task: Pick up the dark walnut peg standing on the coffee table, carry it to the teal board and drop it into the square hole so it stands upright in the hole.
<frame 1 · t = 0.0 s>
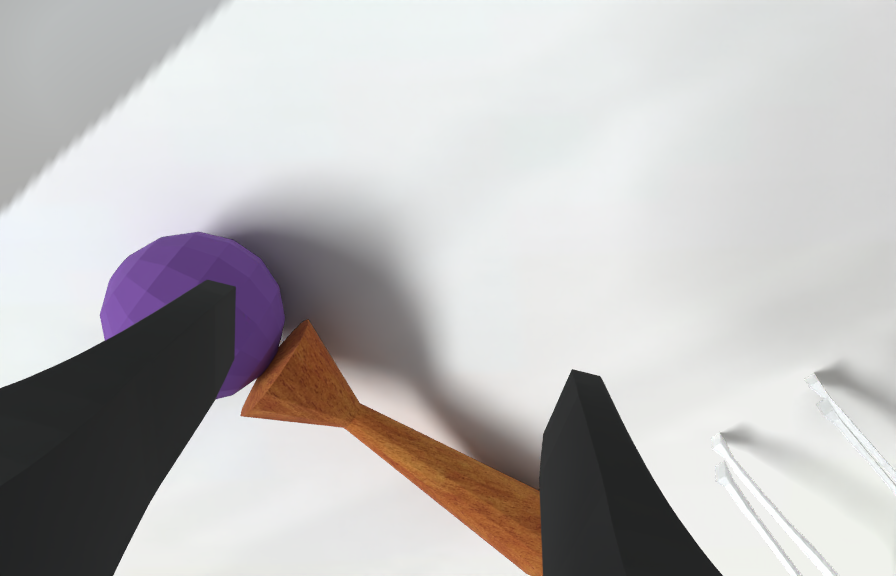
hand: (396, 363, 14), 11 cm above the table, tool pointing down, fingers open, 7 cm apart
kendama: (371, 381, 27), on the table
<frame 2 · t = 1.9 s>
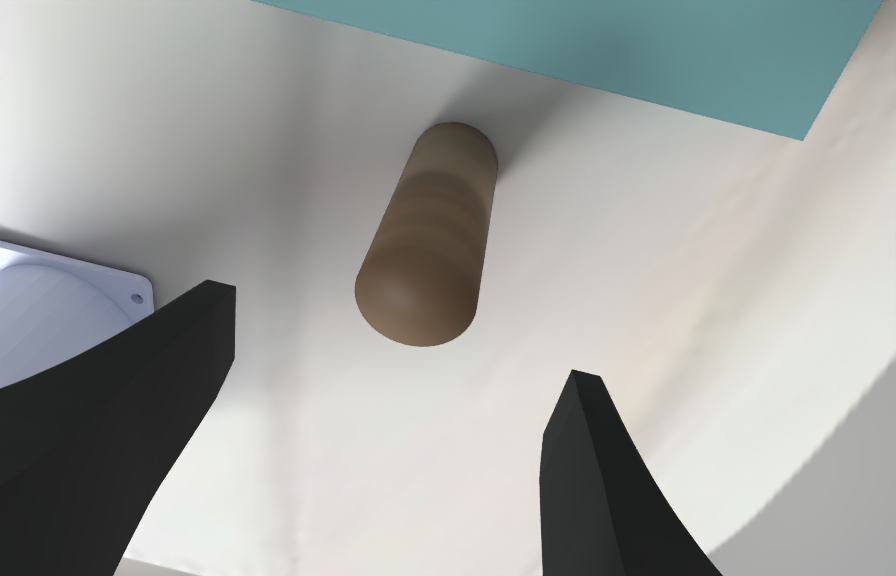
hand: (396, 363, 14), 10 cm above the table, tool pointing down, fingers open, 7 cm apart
peg: (454, 164, 22), on the table
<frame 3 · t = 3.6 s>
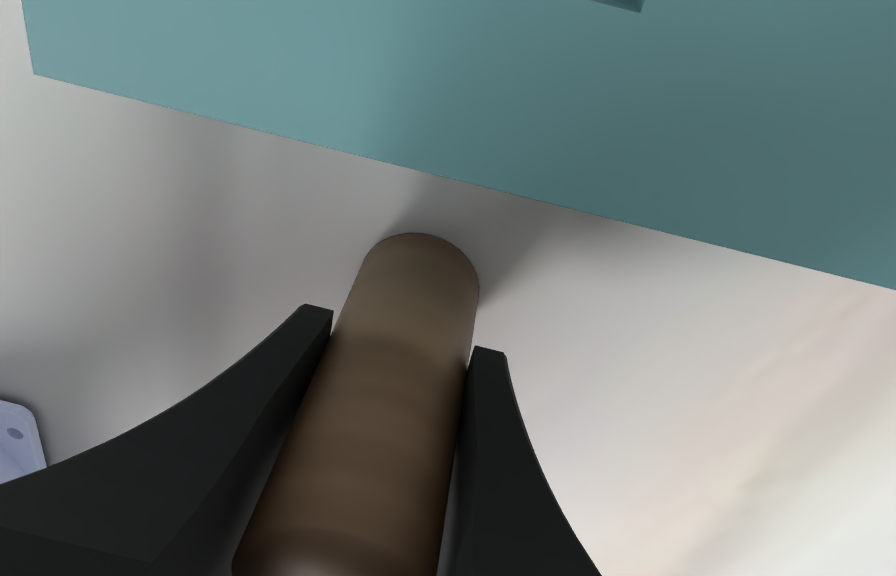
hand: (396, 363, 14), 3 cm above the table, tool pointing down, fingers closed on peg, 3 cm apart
peg: (419, 285, 16), on the table, touching gripper
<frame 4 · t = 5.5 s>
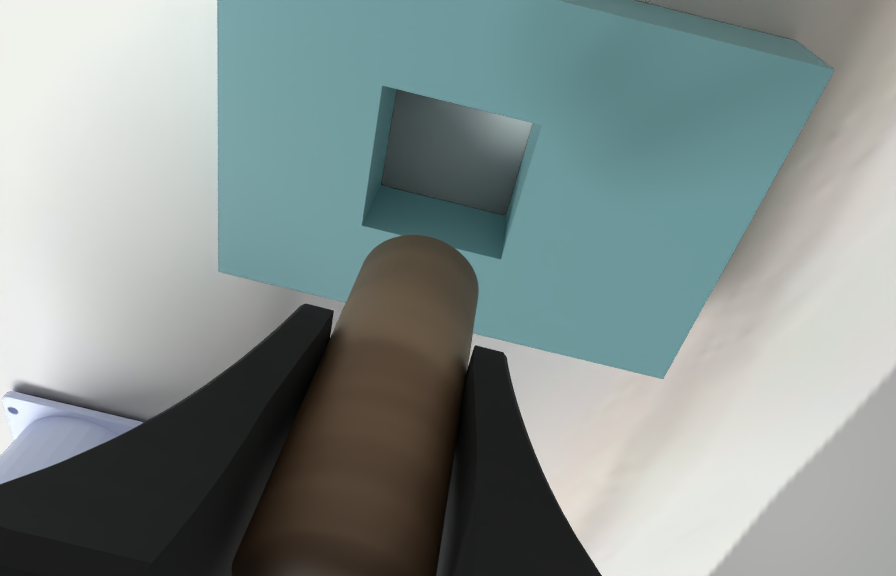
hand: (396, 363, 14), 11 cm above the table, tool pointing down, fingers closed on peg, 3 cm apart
peg: (418, 287, 16), point 8 cm above the table, touching gripper
socket board: (485, 148, 22), on the table
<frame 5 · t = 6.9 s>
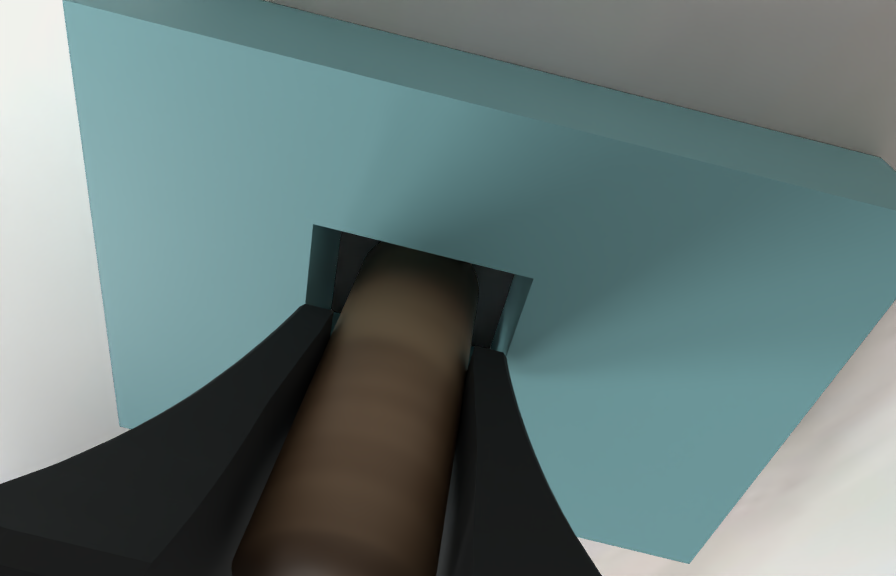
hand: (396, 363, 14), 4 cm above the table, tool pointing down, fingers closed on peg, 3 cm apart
peg: (418, 286, 16), point 1 cm above the table, touching gripper
socket board: (462, 273, 17), on the table
when the fingers open (4 cm above the table, at t = 7.5 s): peg stays where it is, resting in socket board.
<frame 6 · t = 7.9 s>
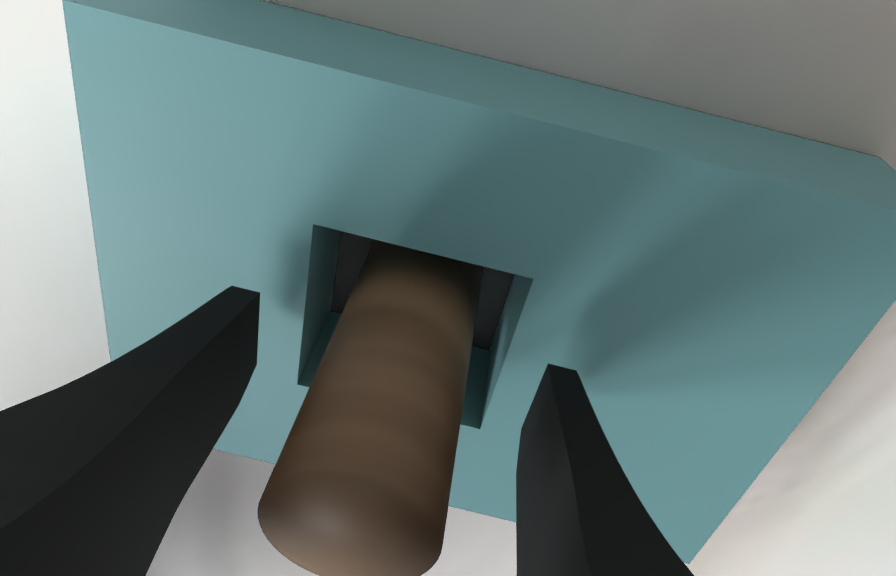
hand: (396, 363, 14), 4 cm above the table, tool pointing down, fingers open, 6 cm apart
peg: (425, 265, 17), resting in socket board
socket board: (462, 273, 17), on the table
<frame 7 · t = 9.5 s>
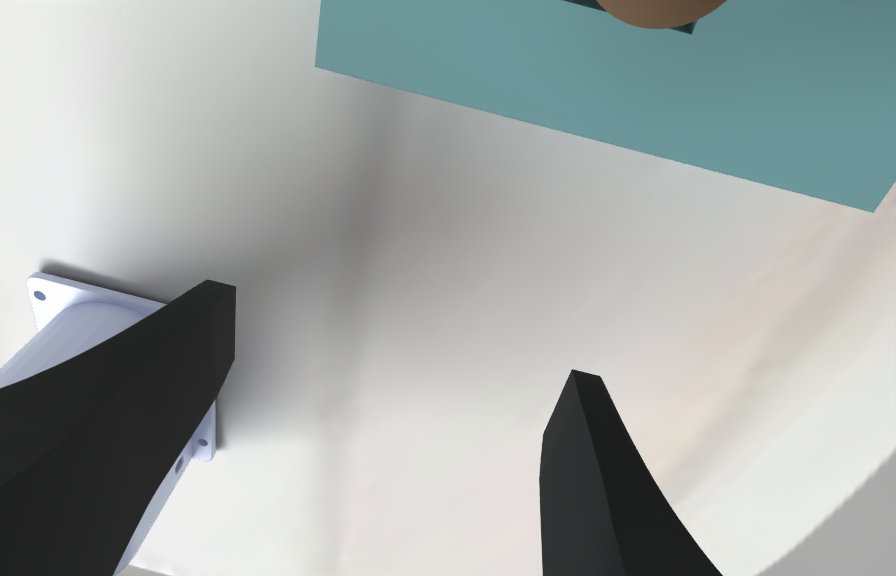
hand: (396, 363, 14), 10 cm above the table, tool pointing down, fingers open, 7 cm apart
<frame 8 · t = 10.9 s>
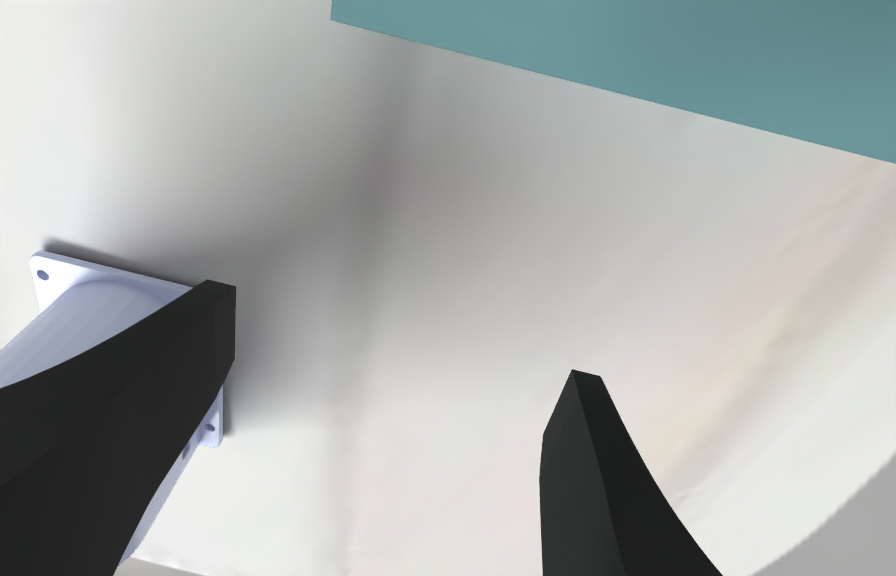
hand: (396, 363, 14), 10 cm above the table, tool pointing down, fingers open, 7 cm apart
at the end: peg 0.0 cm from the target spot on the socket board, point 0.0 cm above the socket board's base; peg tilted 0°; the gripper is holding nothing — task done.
